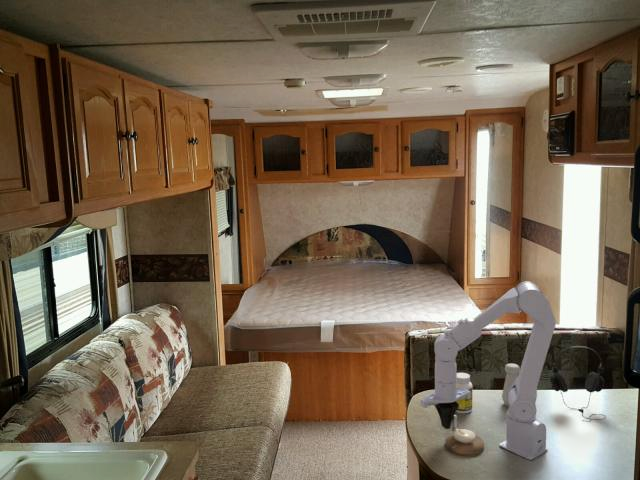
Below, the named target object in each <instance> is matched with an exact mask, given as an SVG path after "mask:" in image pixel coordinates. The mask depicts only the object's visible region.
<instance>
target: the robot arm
mask: <svg viewBox="0 0 640 480" xmlns="http://www.w3.org/2000/svg"><path fill="white" fill-rule="evenodd" d="M520 310H521V311H523V312H524V313H525V314H526V315H527V316H529V317H530V318H531V320H532V321H533V325H532V328H531V331H530V335H529V338H528V342H527V344H526V348H525V352H524V356H523V358H522V361H521V366H520V372H519V373H518V377H517V378H516V379H515V381H514V384H513V386H512V387H511V388H510V389H509V390H508V392H507V399H508V401H509V404H510V407H508V409H507V410H506V426H505V427H506V428H505V429H506V434H505V435H506V436H505V439H506V440H503V442H500V443H499V447H500V448H503V449H505V450H507V451H509V452H512V453H514V454H516V455H518V456H520V457H522V458H525V459H527V460H530V461H532V460H534V459H536V458H537V457H539V456H540V455H542V454H543V453H545V452H547V451H548V447H547V427H546V424H545V423H544V422H541V420H539V419H538V418H537V411H538V410H537V405H536V401H537V398H538V385H539V381H540V378H541V374H542V372H543V368H544V364H545V361H546V358H547V355H548V351H549V348H550V345H551V342H552V338H553V334H554V331H555V328H556V324H557V320H556V317H555V315H554V312H553V310H552V306H551V302H550V301H549V300H548V298H547V297H546V295H545V294H544V292H543V291H542V290H541V288H540V287H538V285H537V284H536V283H534V282H533V281H532V282H531V281H523V282H520V283H519V284H517V285H516V287H513V288H511V289H509V290H508V291H507V292H506V293H505V294H503V295H501V297H499V298H498V299H497V300H495V301H494V302H493V303H492V304H491V305H490V306H488V307H486V309H484V310H483V311H481V313H479V314H478V315H477V316H476V317H474V318H471V317H469V318H468V317H467V318H465V319H463V318H461V319H459V320H458V322H457V323H458V324H456V325H455V326H453V328H450V330H446V331H444V333H443V334H440V335H438V336H437V337H436V339H435V341H434V344H433V345H434V349H433V350H434V354H435V357H434V360H435V362H434V393H431V394H430V395H427V396H425V397H422V398H419V399H420V406H421V407H422V408H423V409H428V407H430V406H434V407H435V409H436V411H437V413H438V416H439V420H440V422H441V427H442V428H444V430H448V429H451V427H452V419H453V416H454V415H456V413H457V412H456V411H457V409H458V408H459V404H458V403H457V402H456V401H457V400H459V399H464V398H467V399H470V398H471V392H470V391H469V390H467V389H465V390H457V373H458V372H457V369H458V368H457V366H458V365H457V361H456V358H457V356H458V352H459V351H461V350H463V349H465V348H466V347H467V346H469V345H470V344H472V343H473V342H474V341H476V340H477V339H479V338H480V337H481V336H482V330H483V329H484V328H487V326H489V325H491V324H492V323H494V322H495V321H497V320H498V319H500V318H501V317H504V315H507V314H521V311H520Z"/></svg>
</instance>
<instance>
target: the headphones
mask: <svg viewBox="0 0 640 480" xmlns="http://www.w3.org/2000/svg"><path fill="white" fill-rule="evenodd" d="M573 349H574V350H575V349H585V350H589V351H592V352H594V353H595V354H596V355H597V356H598V358H599V360H600V361H599V366H598V367H597V372H595V371H591V372H589V373H588V374H587V376H586V378H585V381H584V388H585V390H586V392H589V393H590V394H589V398H588V401H590V397H591V395H592V393H595V392H596V393H599V392H601V391H602V390H603V388H604V386H605V379H604V377H603V376H601V375H602V374H604V371H605V368H604V367H603V359H602V357H601V356H600V355H599V353H598V352H597V351H595V349H593V348H591V347H589V346H585V345H572V346H571V345H570V346H567V347H565V348H563V349H562V350H560V351H559V352H558V353H557V355H556V356H555V359H554V358H553V359H552V363H553V366H552V367H551V369H552V373H553V374H552V375H550V376H549V381H550V383H551V386H552V388H553V390H554V391H555V392H559V391H560V393H561V396H562V401H563V403H564V405H565V406H566V407H567V408H569V409H571V410H572V409H574V410H576V408H573V407H569V406H567V404H566V403H565V401H564V396H563V393H566V392H568V390H569V388H568V384H567V382H566V379H565V377H564V375H563V373H562V372H560V371H558V367H557V366H556V363H557V360H558V358H559V357H560V356H561V354H563V353H564V352H567V351H569V350H573ZM600 374H601V375H600ZM562 392H563V393H562ZM589 405H590V402H588V404H587V406H586V407H584V406H582V407H581V409H579V408H577V410H578V411H580V412H581V413H582V417H583V418H585V416H584V415H583V414H584V409H587V408H588V407H589ZM583 408H584V409H583ZM595 415H596V413H593V414H591V415H589V417H586V419H587V422H591V421H592V420H595V421H597V420H599V421H602V420H605V417H606V415H605V414H602V413H600V415H601V416H604V418H599V419H596V418H591V417H592V416H595ZM581 421H582V422H585V420H583V419H582V420H581Z"/></svg>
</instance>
